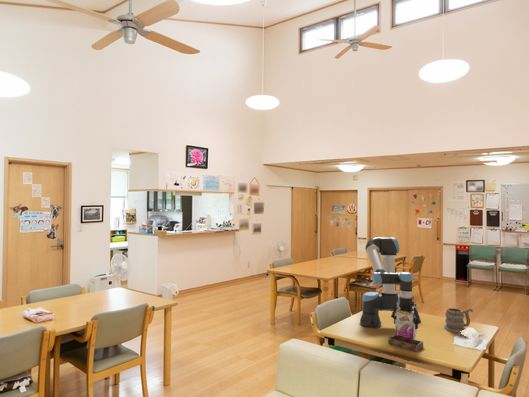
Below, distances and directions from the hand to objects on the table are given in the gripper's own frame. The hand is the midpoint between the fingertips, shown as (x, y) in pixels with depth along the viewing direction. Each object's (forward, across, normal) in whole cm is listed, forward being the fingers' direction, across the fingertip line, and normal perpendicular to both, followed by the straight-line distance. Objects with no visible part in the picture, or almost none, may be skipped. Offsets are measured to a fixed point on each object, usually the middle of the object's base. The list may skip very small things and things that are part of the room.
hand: (405, 331), depth 241 cm
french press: (+9, -25, +60) cm, 65 cm away
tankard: (+9, +13, +59) cm, 61 cm away
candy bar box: (+3, 0, 0) cm, 3 cm away
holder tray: (+9, 0, 0) cm, 9 cm away
